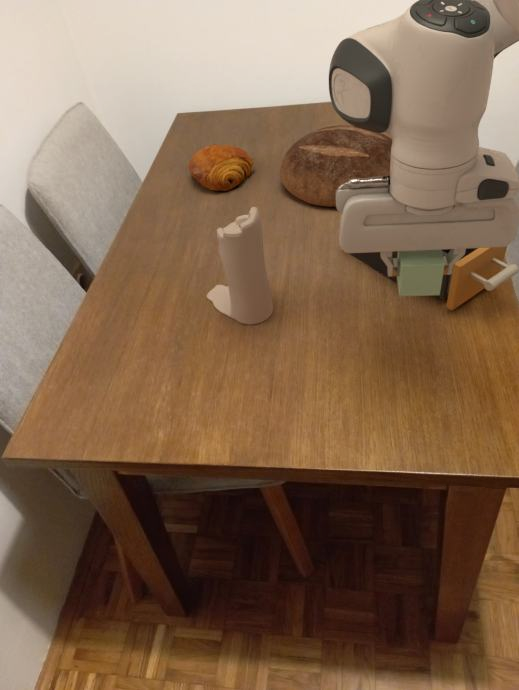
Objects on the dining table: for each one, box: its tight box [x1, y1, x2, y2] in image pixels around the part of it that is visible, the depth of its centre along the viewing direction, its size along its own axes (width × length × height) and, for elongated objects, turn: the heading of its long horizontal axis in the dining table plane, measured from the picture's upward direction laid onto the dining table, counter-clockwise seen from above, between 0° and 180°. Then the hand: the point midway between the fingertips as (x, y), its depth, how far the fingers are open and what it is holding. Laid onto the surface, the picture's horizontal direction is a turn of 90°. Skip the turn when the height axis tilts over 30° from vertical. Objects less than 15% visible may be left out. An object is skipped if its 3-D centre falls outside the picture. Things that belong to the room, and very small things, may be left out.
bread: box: [279, 125, 392, 208], centre depth 114 cm, size 26×27×10 cm
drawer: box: [435, 245, 519, 311], centre depth 85 cm, size 18×11×9 cm, turn 36°
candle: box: [206, 206, 274, 326], centre depth 86 cm, size 7×14×20 cm, turn 50°
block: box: [397, 250, 445, 297], centre depth 67 cm, size 5×5×5 cm
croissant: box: [187, 143, 254, 192], centre depth 123 cm, size 14×16×8 cm
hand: (418, 272), depth 67 cm, fingers closed on block, 5 cm apart
